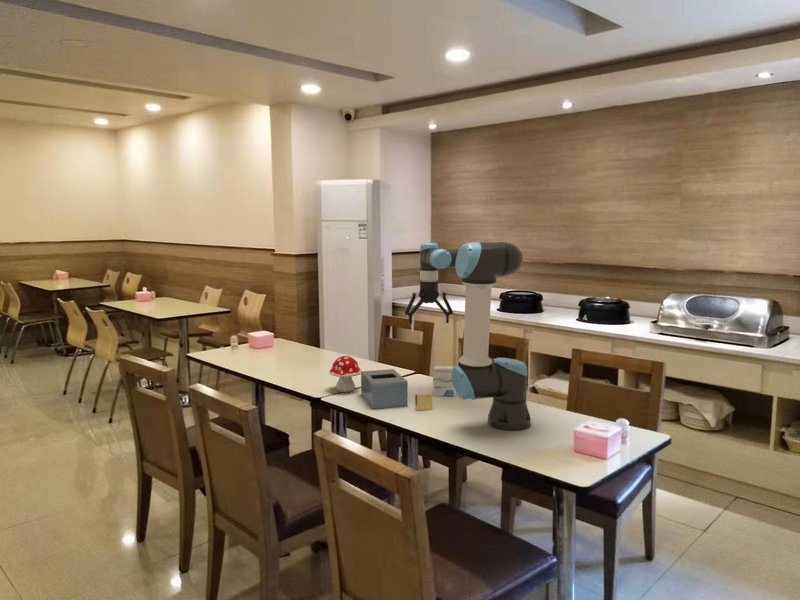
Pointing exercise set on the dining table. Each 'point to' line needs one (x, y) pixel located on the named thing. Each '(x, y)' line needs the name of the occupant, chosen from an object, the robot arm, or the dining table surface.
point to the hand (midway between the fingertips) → (428, 331)
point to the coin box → (384, 389)
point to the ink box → (442, 381)
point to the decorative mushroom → (345, 373)
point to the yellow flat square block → (423, 401)
